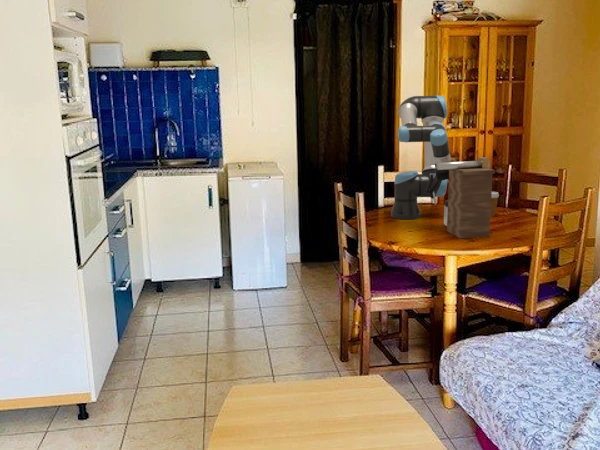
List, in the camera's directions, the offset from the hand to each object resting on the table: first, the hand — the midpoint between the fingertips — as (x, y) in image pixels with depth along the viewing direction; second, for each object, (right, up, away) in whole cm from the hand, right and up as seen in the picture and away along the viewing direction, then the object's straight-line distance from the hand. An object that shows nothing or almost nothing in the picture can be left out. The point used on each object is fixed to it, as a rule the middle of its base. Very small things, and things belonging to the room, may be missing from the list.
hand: (449, 199), depth 288 cm
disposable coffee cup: (+26, -7, +22) cm, 35 cm away
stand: (+5, -16, -15) cm, 23 cm away
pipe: (+1, +13, -23) cm, 26 cm away
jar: (+2, -12, +2) cm, 13 cm away
